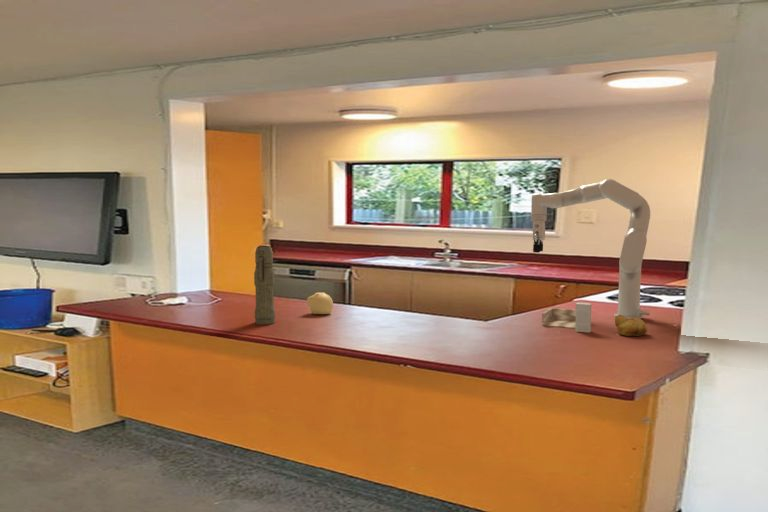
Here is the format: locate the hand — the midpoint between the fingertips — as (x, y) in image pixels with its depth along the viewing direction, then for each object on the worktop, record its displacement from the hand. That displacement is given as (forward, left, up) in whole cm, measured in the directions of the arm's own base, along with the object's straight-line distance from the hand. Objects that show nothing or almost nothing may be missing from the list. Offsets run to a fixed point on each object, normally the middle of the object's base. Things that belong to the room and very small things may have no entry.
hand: (538, 251), depth 283 cm
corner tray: (-20, +29, -30) cm, 47 cm away
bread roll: (-48, +38, -31) cm, 69 cm away
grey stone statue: (+100, +93, -30) cm, 140 cm away
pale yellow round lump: (+91, +62, -30) cm, 114 cm away
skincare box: (-29, +41, -30) cm, 59 cm away
